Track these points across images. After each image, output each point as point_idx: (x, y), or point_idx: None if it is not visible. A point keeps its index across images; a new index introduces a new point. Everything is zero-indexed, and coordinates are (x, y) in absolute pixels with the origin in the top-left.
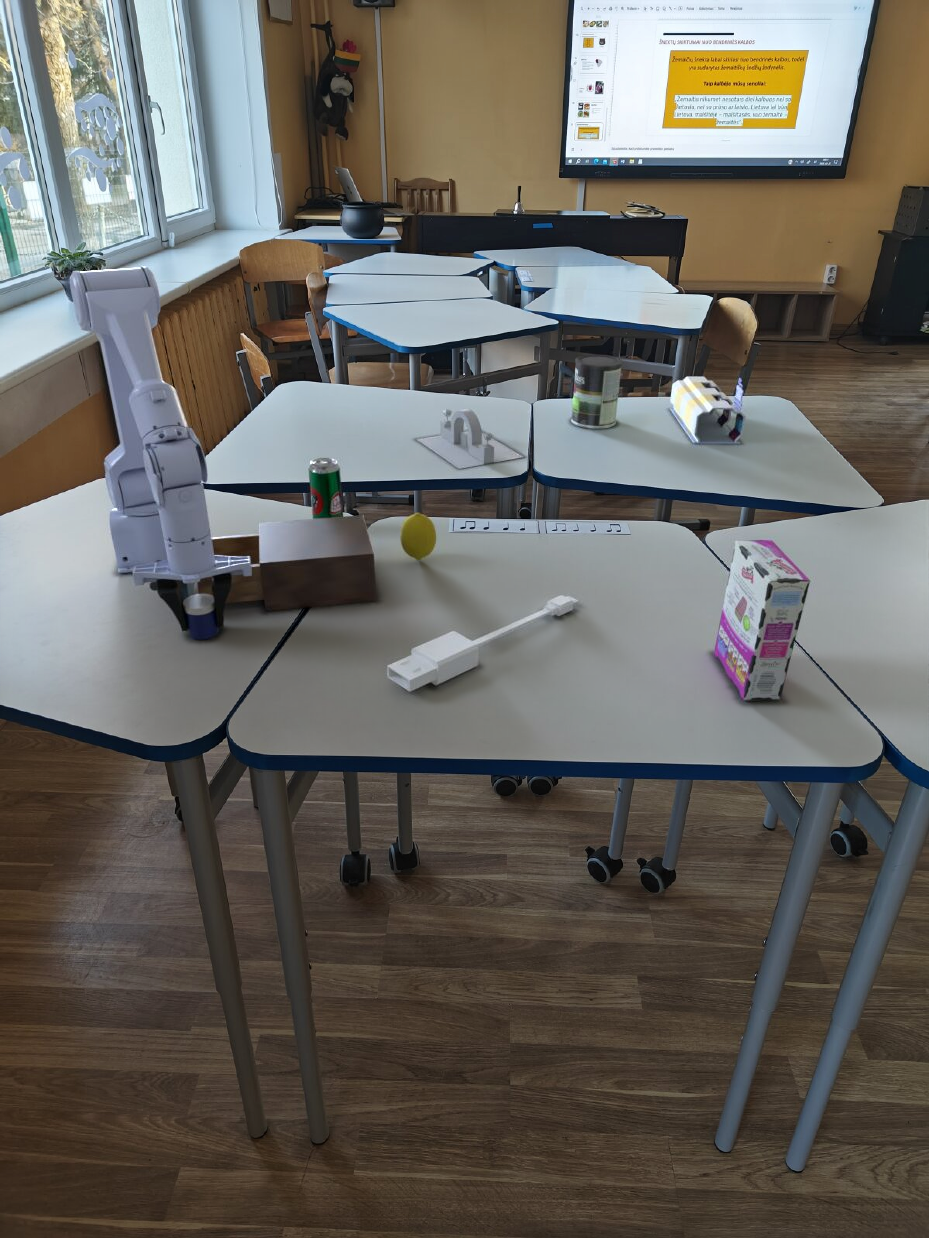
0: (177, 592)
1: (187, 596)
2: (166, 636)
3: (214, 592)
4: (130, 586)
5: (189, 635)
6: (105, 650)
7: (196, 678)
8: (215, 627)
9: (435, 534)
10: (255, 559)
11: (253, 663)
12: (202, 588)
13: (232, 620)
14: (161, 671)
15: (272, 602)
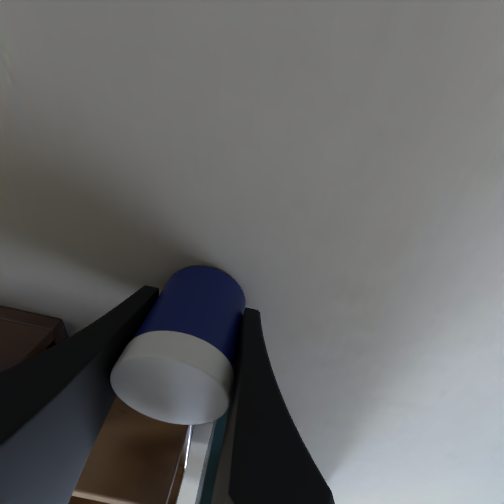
0: (225, 492)
1: (219, 419)
2: (301, 318)
3: (13, 421)
4: (318, 462)
5: (244, 298)
6: (468, 323)
7: (263, 9)
8: (164, 290)
9: None
10: None
11: (33, 43)
12: (173, 432)
13: None
14: (376, 140)
15: (24, 333)
